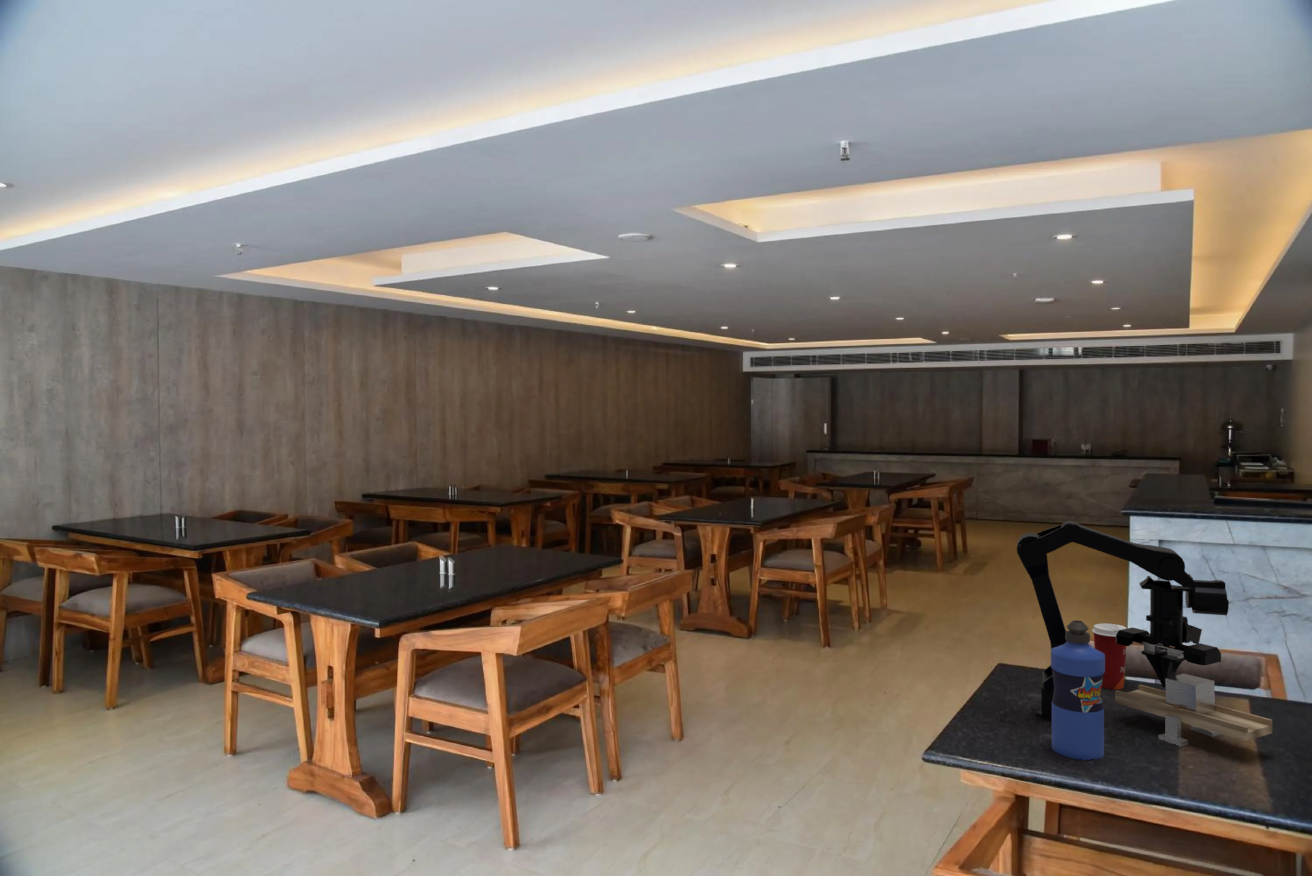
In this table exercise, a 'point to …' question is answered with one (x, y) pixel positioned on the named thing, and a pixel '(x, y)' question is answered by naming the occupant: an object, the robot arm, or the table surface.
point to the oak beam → (1198, 714)
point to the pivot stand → (1179, 731)
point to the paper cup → (1111, 654)
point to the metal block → (1191, 693)
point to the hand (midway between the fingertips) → (1166, 687)
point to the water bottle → (1077, 696)
